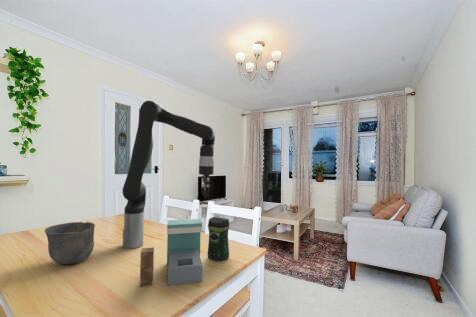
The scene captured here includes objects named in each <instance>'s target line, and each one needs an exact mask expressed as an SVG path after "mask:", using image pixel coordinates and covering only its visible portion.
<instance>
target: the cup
mask: <svg viewBox="0 0 476 317" xmlns="http://www.w3.org/2000/svg"><path fill="white" fill-rule="evenodd" d="M95 227H96V225H95V222H89V221H87V222H83V221H78V222H77V221H74V222H67V223H66V222H65V223H60V224H55V225H52V226H48V227H46V228H45V229H44V233H45V235H46V238H47V244H48V246H47V249H48V250H47V251H48V255H49V257H50V259H51V260H52V261H53V262H56V263H58V264H61V265H74V264H77V263H78V264H79V262H82V261H85V260H86V259H87V258H89V257H90V256H91V254H92V253H93V252H94V247H95V243H94V242H95V240H94V239H95V238H94V237H95Z"/></svg>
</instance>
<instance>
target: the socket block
mask: <svg viewBox="0 0 476 317" xmlns="http://www.w3.org/2000/svg"><path fill="white" fill-rule="evenodd" d="M167 270H168V271H167V273H168V274H167V276H168V277H167V285H168V286H175V285H176V286H177V285H182V284H183V285H184V284H192V283H201V282H203V263H202V259H201V253H200V254H199V250H198V249H191V250H179V251H170V252H169V265H168V268H167Z"/></svg>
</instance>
